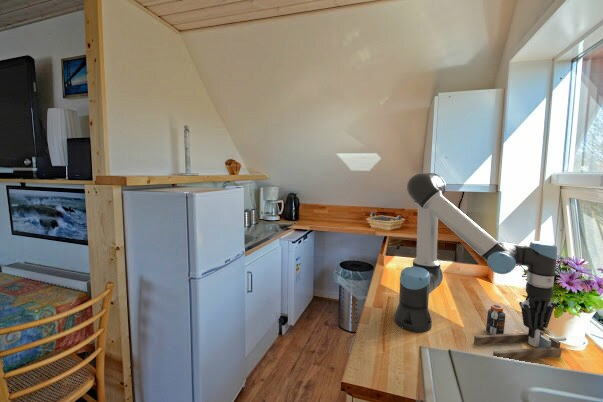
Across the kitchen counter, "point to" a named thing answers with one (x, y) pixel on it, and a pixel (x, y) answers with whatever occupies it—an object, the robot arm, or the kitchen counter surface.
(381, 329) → the kitchen counter surface
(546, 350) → the lane
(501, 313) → the pill bottle
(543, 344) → the pusher
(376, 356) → the kitchen counter surface
